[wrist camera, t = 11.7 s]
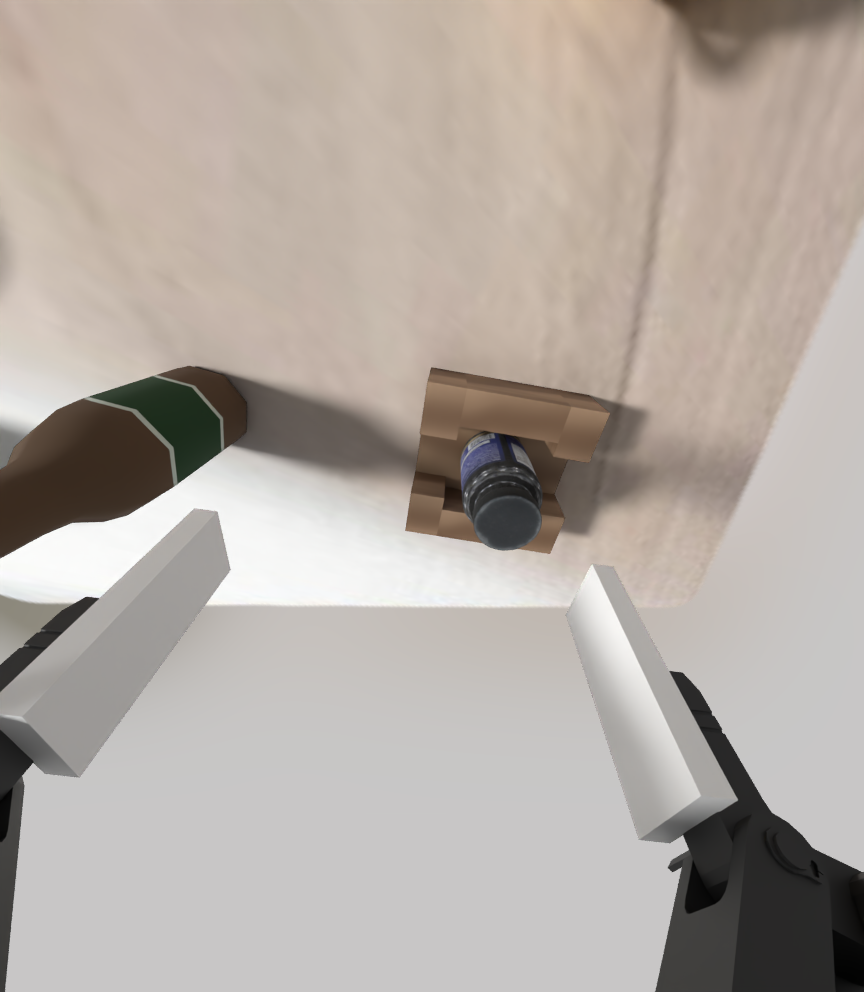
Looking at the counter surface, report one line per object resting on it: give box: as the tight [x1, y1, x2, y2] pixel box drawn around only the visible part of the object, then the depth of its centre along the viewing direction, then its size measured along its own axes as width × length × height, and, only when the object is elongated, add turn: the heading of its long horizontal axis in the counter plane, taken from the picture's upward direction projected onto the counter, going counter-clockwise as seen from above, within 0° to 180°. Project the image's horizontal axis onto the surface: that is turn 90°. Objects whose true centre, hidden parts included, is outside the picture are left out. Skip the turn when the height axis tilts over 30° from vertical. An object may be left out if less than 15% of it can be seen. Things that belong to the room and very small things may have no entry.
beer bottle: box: [0, 366, 247, 558], centre depth 24 cm, size 8×8×24 cm
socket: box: [405, 367, 610, 554], centre depth 33 cm, size 14×14×5 cm
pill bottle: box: [460, 431, 543, 550], centre depth 30 cm, size 6×6×11 cm
